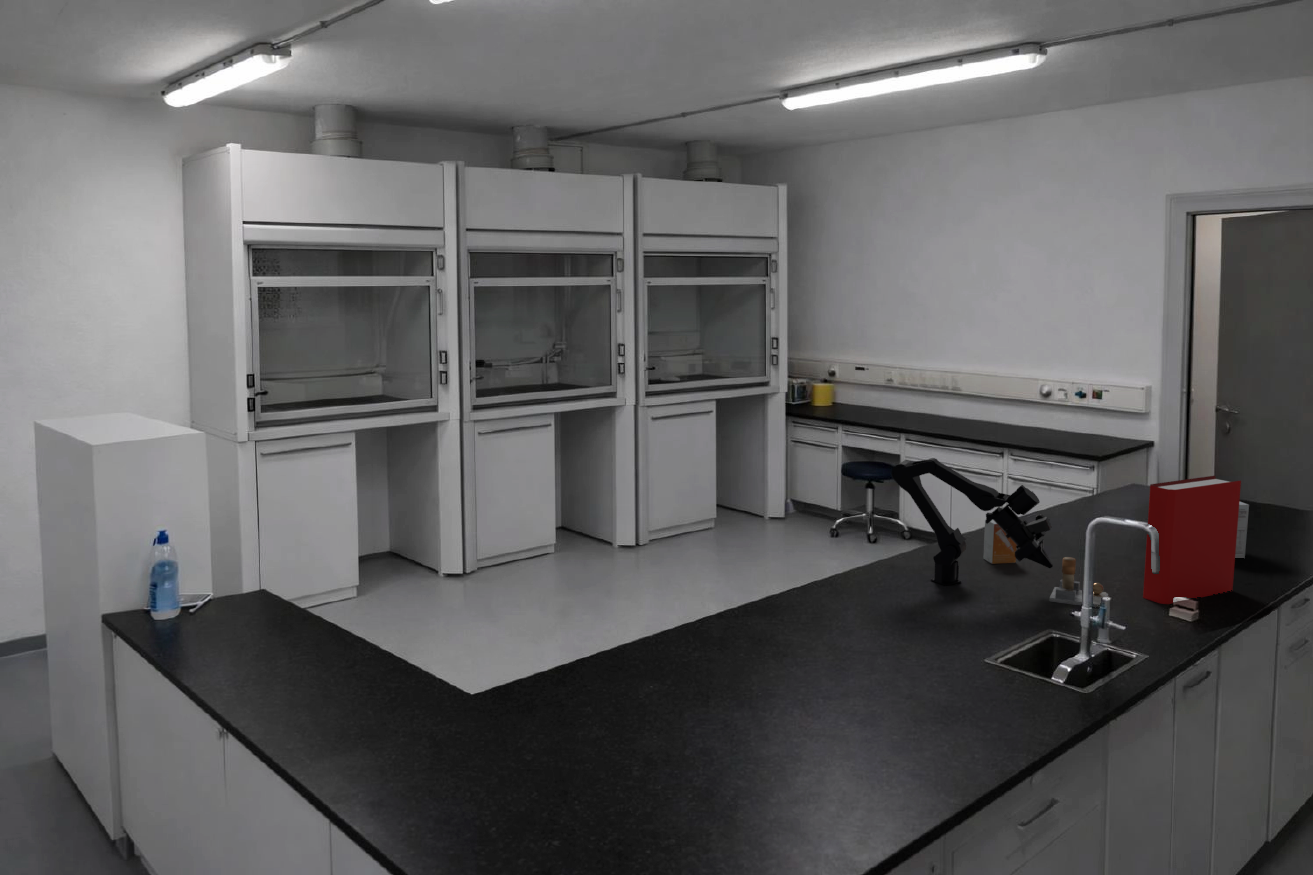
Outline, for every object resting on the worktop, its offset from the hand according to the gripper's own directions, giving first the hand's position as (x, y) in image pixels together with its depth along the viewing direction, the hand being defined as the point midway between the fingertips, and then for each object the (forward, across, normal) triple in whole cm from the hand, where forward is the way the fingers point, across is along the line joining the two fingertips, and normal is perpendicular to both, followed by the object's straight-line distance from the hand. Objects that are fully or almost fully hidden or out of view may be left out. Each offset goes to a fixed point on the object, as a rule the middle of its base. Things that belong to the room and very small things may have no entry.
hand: (1051, 567), depth 282 cm
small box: (-8, +30, +19) cm, 36 cm away
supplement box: (+35, +68, -22) cm, 80 cm away
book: (+30, +18, -18) cm, 39 cm away
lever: (+7, 0, +1) cm, 7 cm away
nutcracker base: (+11, 0, +1) cm, 11 cm away
